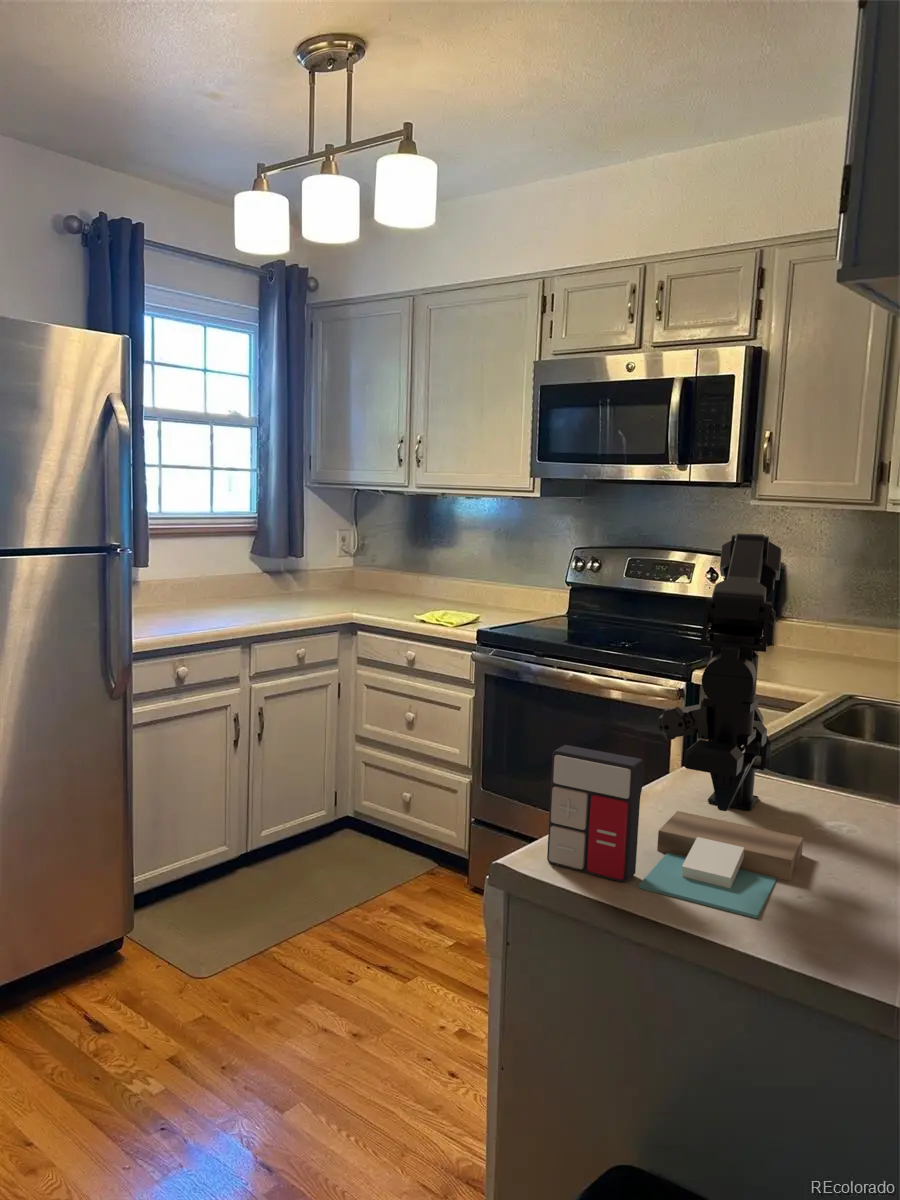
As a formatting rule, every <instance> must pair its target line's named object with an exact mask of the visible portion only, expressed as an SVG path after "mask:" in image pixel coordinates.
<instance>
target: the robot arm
mask: <svg viewBox="0 0 900 1200" xmlns="http://www.w3.org/2000/svg"><path fill="white" fill-rule="evenodd" d="M730 539H731V540H729V541H727V542H726V543H724V544H723V545H722V546H721V554H720V561H719V562H720V563H719V571H720V577H724V580H722V581H719V582H716V583H715V584H714V587H713V591H712V593H711V594H712V595H711V597H706V600H705V607H704V614H703V620H702V621H703V622H702V629H701V636H700V642H699V643H700V647H707V648H712V651H710V659H709V661H708V663H707V665H706V666H705V669H704V671H703V673H702V676H701V687H702V690H703V692H704V694H705V696H704V697H703V698H702V699H701V700H700V704H695V705H689V706H684V707H680V706H677V705H676V706H675V707H673V708H669V707H668V708H666V709H664V710H663V713H662V714H661V715H659V717H658V720H659V725H658V726H657V728H658V730H659V731H661V732H663V734H664V737H665V740H666V741H671V740H675V739H676V738H680V737H685V736H690V735H694V734H697V739H699V740H698V741H696V742H695V743H693V744H692V745H691V746H690V747H688V748H687V749H686V750H685V751H684V756H683V759H684V760H683V768H685V769H687V770H692V771H697V772H704V773H709V775H710V778H711V782H712V787H713V793H711V795H710V796H708V798H707V802H708V803H711V804H715V805H716V806H717V810H718V811H721V812H727V811H728V810H729V809H730V808H735V809H739V810H744V811H752V809H753V808H754V807H755V805H756V804H757V803H758V801H759V800H758V799H759V798H760V797H759V796H758V795H754V791H755V789H754V788H755V777H756V770H760V771H765V770H766V769H769V768H770V762H771V749H772V741H771V739H770V738H769V735H768V728H767V727H766V726H765V725H764V716H763V714H762V713H761V710H760V709H759V707H758V706H759V698H760V697H756V695H757V681H758V679H757V678H758V670H759V658H760V657H759V656H760V655H759V652H761V653H767V647H768V645H771V646H773V641H774V631H775V630H774V629H775V622H776V610H774V608H773V604H772V602H771V601H767V600H768V598H769V597H770V596H771V595H772V594H773V592H774V589H775V581H780V577H781V576H780V574H781V565H782V564H781V563H782V548H781V547H780V546H778V545H776V544H775V543H773V542H771V541H770V537H769V536H767V535H766V536H765V534H759V533H758V534H757V533H739V532H738V533H736V534H732V535H731V538H730ZM709 631H710V634H709ZM708 637H709V638H708ZM760 639H762V641H761V642H760Z"/></svg>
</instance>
